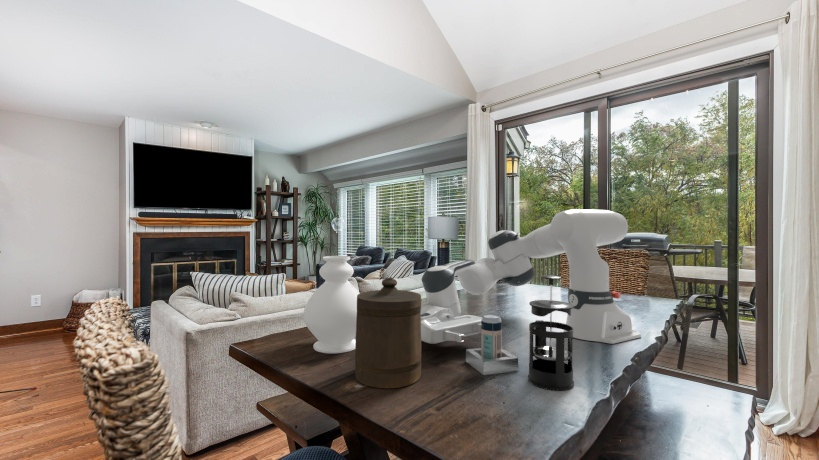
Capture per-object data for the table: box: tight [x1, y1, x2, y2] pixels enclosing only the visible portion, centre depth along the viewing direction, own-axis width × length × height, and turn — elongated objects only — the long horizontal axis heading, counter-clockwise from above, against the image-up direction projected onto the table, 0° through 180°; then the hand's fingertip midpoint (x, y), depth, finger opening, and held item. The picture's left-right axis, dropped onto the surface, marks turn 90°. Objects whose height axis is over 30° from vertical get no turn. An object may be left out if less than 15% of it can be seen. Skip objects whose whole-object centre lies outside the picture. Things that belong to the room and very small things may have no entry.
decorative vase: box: [303, 255, 361, 354], centre depth 104 cm, size 18×18×25 cm
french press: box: [527, 274, 575, 392], centre depth 81 cm, size 12×9×23 cm
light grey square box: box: [465, 347, 519, 376], centre depth 89 cm, size 9×9×3 cm
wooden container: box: [354, 277, 422, 389], centre depth 84 cm, size 15×15×22 cm
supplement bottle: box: [480, 313, 503, 359], centre depth 89 cm, size 5×5×12 cm
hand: (475, 335), depth 93 cm, fingers open, 8 cm apart
